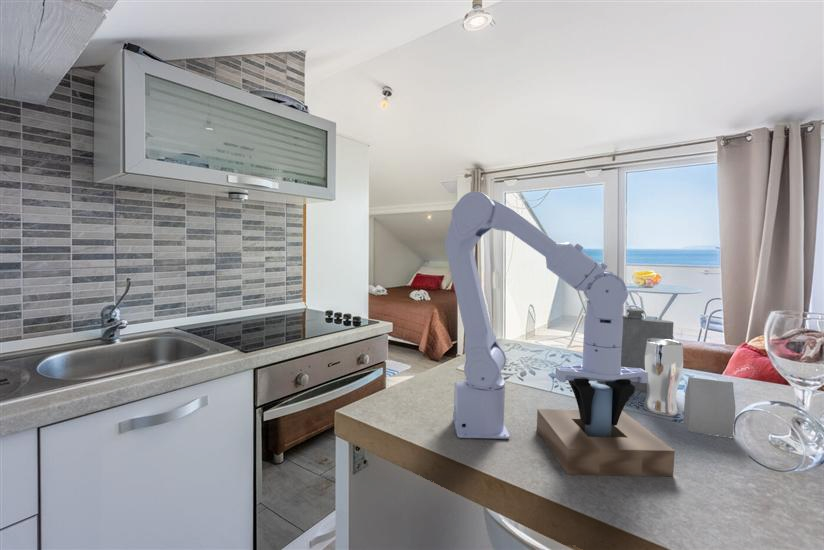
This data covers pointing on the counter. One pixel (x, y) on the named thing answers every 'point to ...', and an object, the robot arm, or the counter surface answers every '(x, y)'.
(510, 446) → the counter surface
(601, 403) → the peg
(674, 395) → the silver metal tumbler
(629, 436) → the socket board
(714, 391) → the grey angular block
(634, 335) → the hip flask
